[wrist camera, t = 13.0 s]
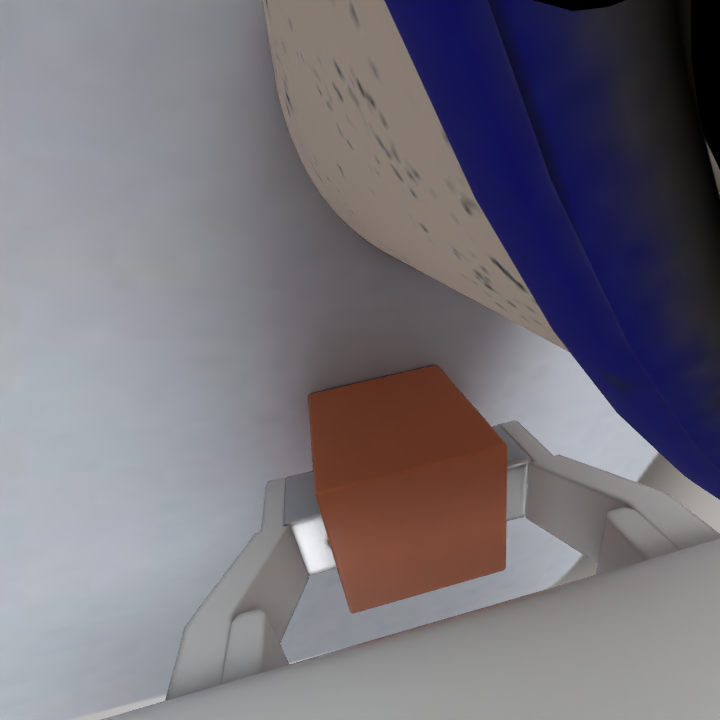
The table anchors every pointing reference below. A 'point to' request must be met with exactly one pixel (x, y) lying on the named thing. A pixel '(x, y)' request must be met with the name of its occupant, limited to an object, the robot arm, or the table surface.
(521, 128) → the teacup with lid
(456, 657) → the robot arm
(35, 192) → the table surface
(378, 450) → the block
